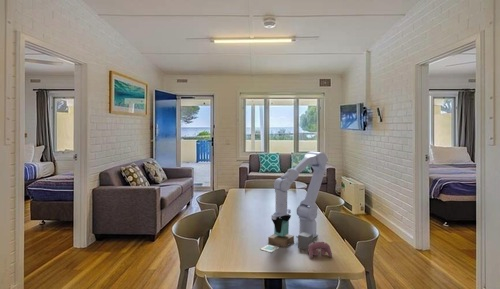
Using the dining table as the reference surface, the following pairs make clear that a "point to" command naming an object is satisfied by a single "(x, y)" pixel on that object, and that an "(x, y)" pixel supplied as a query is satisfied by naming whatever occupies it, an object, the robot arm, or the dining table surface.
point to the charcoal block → (304, 240)
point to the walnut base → (281, 240)
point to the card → (269, 248)
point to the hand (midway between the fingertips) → (281, 230)
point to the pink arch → (319, 245)
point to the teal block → (283, 229)
